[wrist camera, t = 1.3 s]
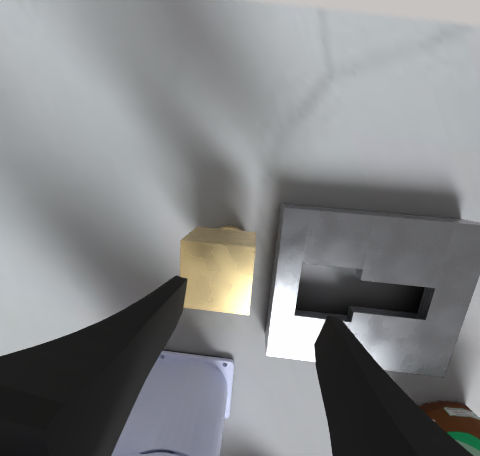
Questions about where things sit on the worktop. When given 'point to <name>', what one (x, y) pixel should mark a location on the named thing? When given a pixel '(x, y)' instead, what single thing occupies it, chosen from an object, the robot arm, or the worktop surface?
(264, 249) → the worktop surface
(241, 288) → the brass peg
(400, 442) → the robot arm
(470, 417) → the food container
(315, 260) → the keyhole plate
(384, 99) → the worktop surface
